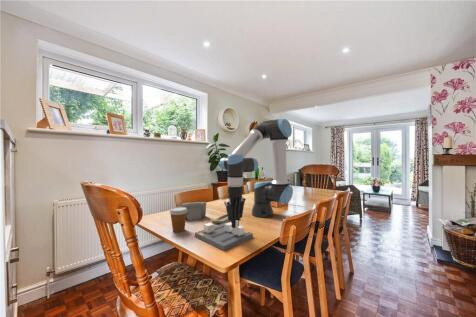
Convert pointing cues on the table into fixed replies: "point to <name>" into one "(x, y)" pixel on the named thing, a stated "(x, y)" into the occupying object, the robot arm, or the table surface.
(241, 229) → the tab
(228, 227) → the tab
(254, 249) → the table surface
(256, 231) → the table surface
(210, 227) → the tab
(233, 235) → the switch bank
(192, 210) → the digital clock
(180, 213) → the disposable coffee cup
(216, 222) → the olive shallow tray
